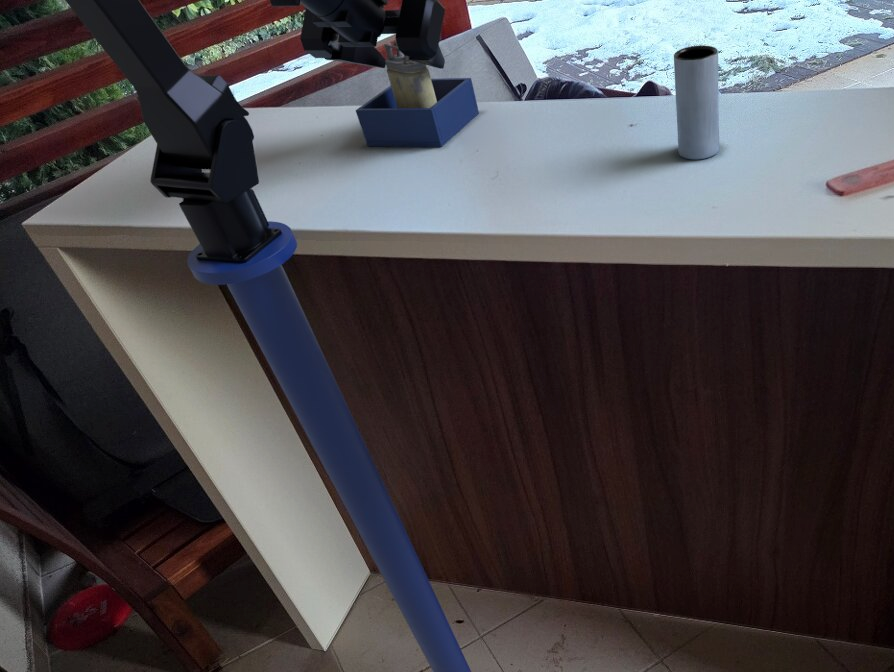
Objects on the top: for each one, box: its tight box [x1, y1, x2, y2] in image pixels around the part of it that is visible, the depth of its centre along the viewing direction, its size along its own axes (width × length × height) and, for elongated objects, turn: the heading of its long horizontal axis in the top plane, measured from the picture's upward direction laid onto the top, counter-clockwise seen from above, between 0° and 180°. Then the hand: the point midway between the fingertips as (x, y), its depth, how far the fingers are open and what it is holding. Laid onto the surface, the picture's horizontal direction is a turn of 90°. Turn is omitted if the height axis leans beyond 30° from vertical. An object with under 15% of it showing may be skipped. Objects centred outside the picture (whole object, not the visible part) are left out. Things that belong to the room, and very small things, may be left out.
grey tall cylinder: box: [673, 45, 720, 160], centre depth 80 cm, size 4×4×10 cm
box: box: [355, 77, 480, 148], centre depth 99 cm, size 11×11×5 cm
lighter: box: [383, 39, 437, 108], centre depth 96 cm, size 7×4×10 cm, turn 45°
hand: (413, 64), depth 96 cm, fingers open, 9 cm apart
